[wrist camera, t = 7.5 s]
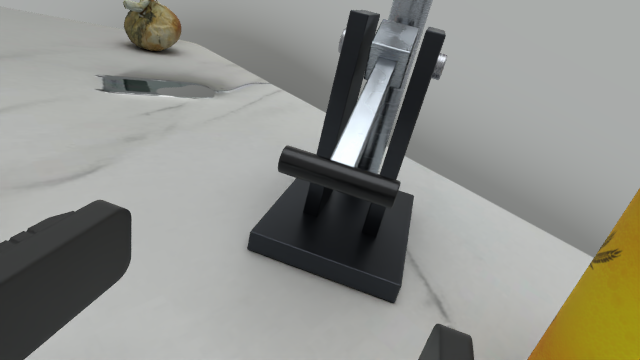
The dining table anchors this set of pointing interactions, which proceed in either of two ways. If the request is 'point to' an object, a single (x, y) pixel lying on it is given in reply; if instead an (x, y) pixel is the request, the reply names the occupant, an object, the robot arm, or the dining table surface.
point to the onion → (151, 25)
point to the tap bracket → (344, 210)
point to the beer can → (602, 302)
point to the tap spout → (411, 11)
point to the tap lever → (361, 124)
